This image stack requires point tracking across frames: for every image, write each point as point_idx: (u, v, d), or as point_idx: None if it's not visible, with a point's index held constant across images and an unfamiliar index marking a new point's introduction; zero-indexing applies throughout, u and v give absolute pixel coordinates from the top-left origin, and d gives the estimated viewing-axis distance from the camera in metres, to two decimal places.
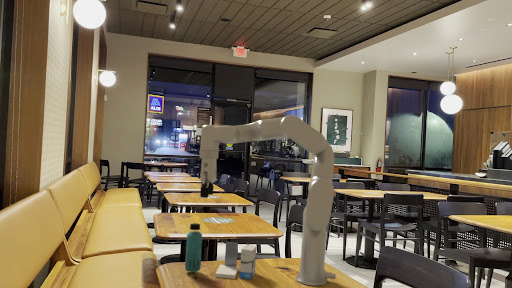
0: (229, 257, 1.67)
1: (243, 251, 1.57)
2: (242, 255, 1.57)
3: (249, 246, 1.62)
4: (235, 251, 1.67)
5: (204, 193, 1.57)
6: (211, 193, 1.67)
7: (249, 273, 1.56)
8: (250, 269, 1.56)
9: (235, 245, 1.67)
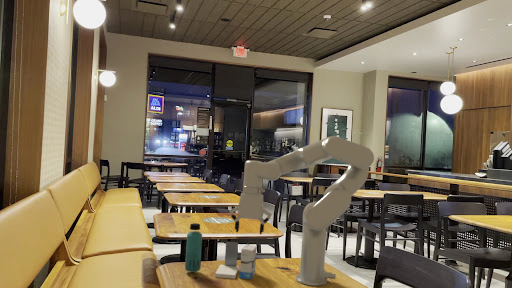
0: (229, 257, 1.67)
1: (243, 251, 1.57)
2: (242, 255, 1.57)
3: (249, 246, 1.62)
4: (235, 251, 1.67)
5: (263, 229, 1.60)
6: (238, 229, 1.62)
7: (249, 273, 1.56)
8: (250, 269, 1.56)
9: (235, 245, 1.67)
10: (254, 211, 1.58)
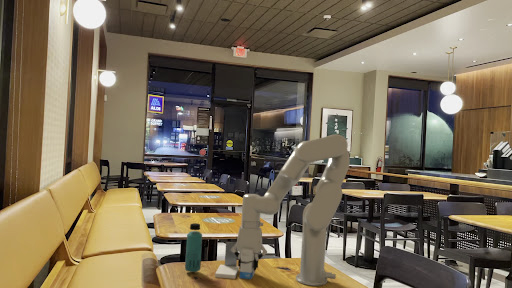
0: (229, 257, 1.67)
1: (243, 251, 1.57)
2: (242, 255, 1.57)
3: None
4: None
5: (257, 265, 1.60)
6: None
7: (249, 273, 1.56)
8: (250, 269, 1.56)
9: None
10: (253, 245, 1.58)
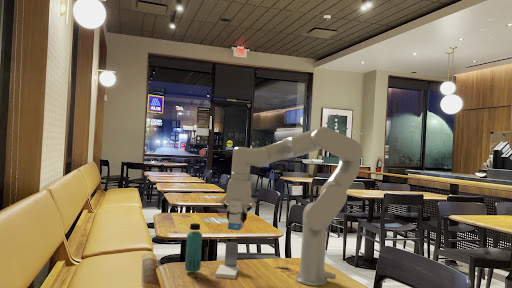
0: (229, 257, 1.67)
1: (232, 202, 1.57)
2: (231, 206, 1.57)
3: None
4: (235, 251, 1.67)
5: (246, 217, 1.61)
6: None
7: (237, 224, 1.56)
8: (238, 220, 1.56)
9: (235, 245, 1.67)
10: (242, 197, 1.58)
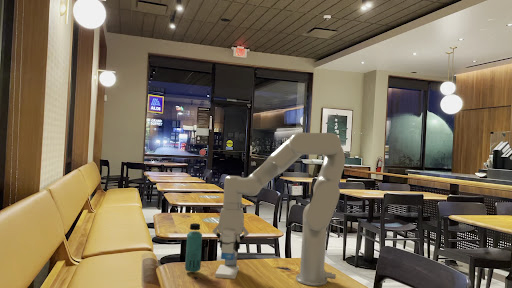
0: None
1: (224, 232, 1.57)
2: (223, 236, 1.57)
3: None
4: None
5: (239, 246, 1.61)
6: None
7: (230, 254, 1.57)
8: (231, 250, 1.57)
9: None
10: (234, 226, 1.59)
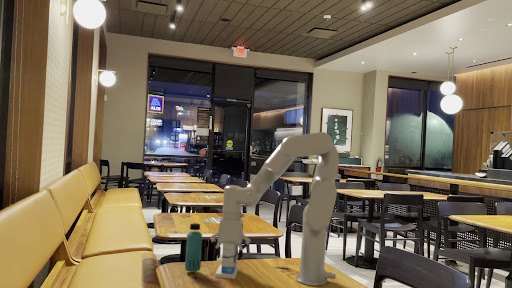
0: None
1: (225, 246, 1.57)
2: (224, 250, 1.57)
3: None
4: None
5: (242, 255, 1.61)
6: (219, 255, 1.63)
7: (231, 267, 1.57)
8: (232, 263, 1.57)
9: None
10: (233, 236, 1.59)
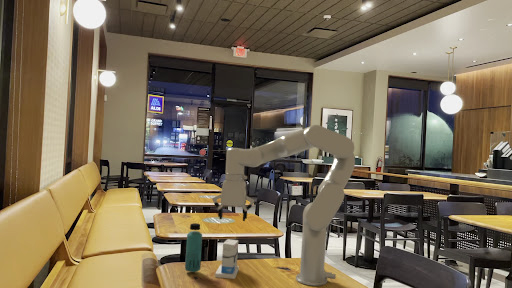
0: None
1: (225, 246, 1.57)
2: (224, 250, 1.57)
3: (231, 241, 1.62)
4: None
5: (246, 216, 1.61)
6: None
7: (231, 267, 1.57)
8: (232, 263, 1.57)
9: None
10: (237, 198, 1.59)
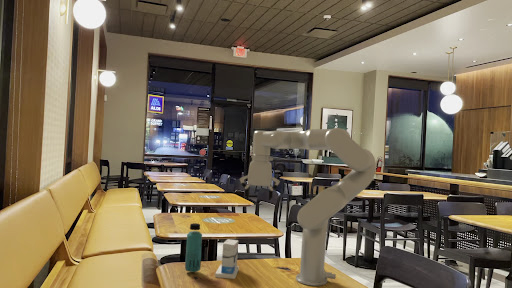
0: None
1: (225, 246, 1.57)
2: (224, 250, 1.57)
3: (231, 241, 1.62)
4: None
5: None
6: (248, 196, 1.71)
7: (231, 267, 1.57)
8: (232, 263, 1.57)
9: None
10: (263, 178, 1.67)
